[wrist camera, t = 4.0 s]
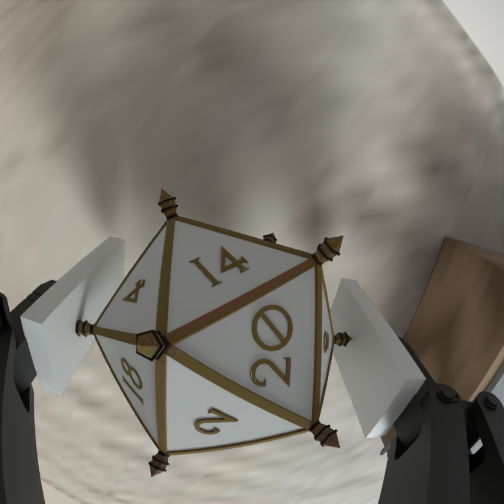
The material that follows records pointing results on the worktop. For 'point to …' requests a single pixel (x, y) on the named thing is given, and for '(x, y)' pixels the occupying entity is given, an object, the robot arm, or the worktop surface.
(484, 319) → the walnut base block
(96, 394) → the worktop surface
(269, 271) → the game die
